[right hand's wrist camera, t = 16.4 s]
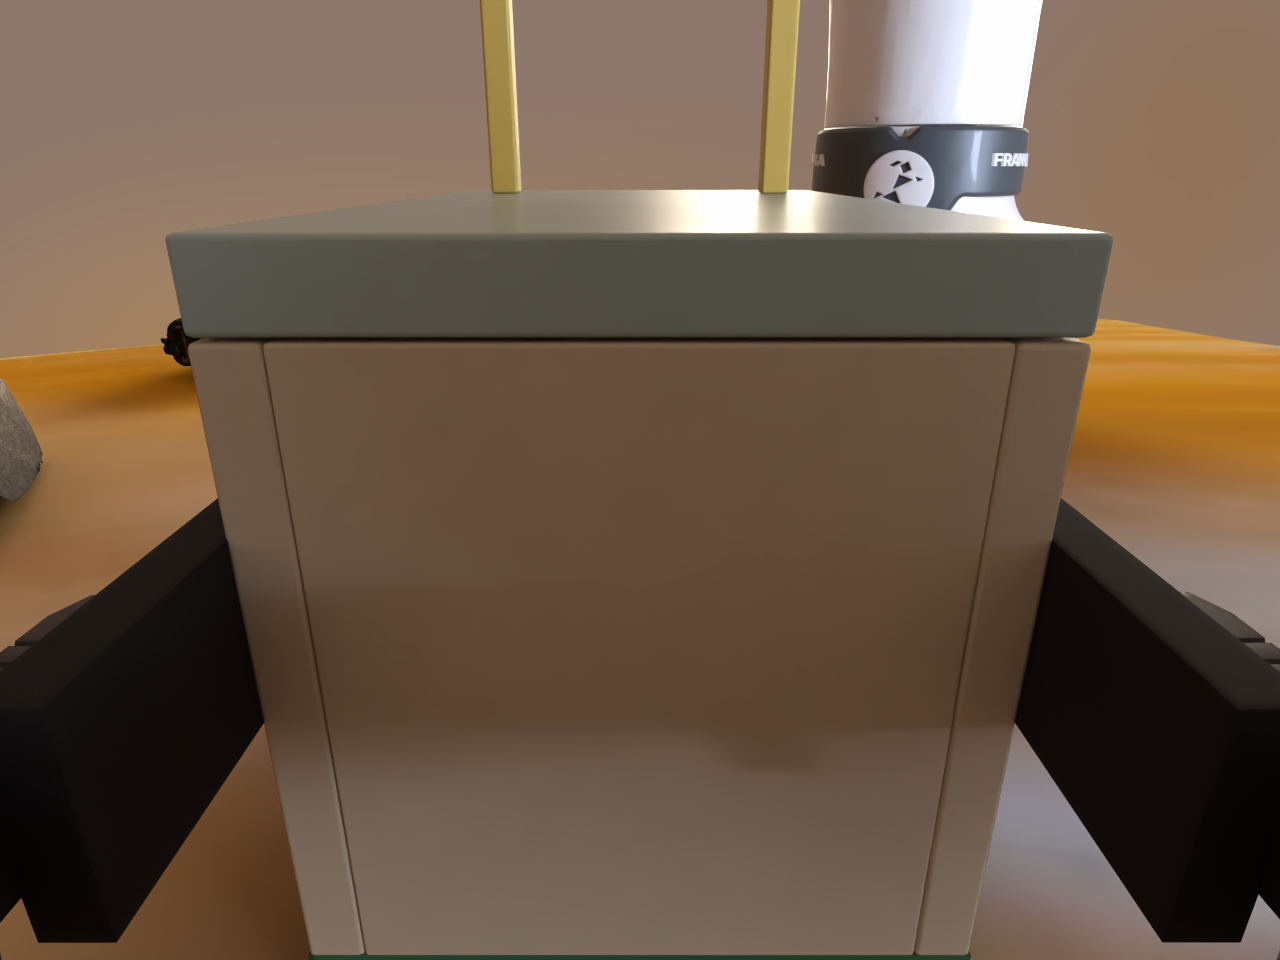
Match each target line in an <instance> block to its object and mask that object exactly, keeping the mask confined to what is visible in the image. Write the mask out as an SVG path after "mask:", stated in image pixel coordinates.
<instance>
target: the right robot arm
mask: <svg viewBox="0 0 1280 960" xmlns="http://www.w3.org/2000/svg"><path fill="white" fill-rule="evenodd" d="M263 723H264V720H263V715H262V710H261V705H260V700H259V695H258V691H257V686H256V681H255V676H254V671H253V666H252V661H251V656H250V651H249V646H248V642H247V637H246V632H245V627H244V622H243V617H242V612H241V607H240V602H239V597H238V593H237V588H236V583H235V578H234V573H233V568H232V563H231V558H230V553H229V548H228V544H227V539H226V534H225V529H224V524H223V520H222V515H221V510H220V505H219V500H218V499H216V500H215V501H214V502H213V503H211V504H210V505H209V506H207V507H206V508H205V509H204V510H202V511H201V512H200V513H199V514H197V515H196V516H195V517H194V518H192V519H191V520H190V521H189V522H187V523H186V524H185V525H184V526H182V527H181V528H180V529H178V530H177V531H176V532H175V533H173V534H172V535H171V536H170V537H168V538H167V539H166V540H165V541H163V542H162V543H161V544H160V545H158V546H157V547H156V548H155V549H153V550H152V551H151V552H149V553H148V554H147V555H146V556H144V557H143V558H142V559H141V560H139V561H138V562H137V563H136V564H134V565H133V566H132V567H131V568H129V569H128V570H127V571H126V572H124V573H123V574H122V575H120V576H119V577H118V578H117V579H115V580H114V581H113V582H112V583H110V584H109V585H108V586H107V587H105V588H104V589H103V590H102V591H100V592H99V593H98V594H97V595H91V596H89V597H87V598H85V599H83V600H81V601H79V602H76V603H74V604H72V605H70V606H68V607H66V608H64V609H62V610H60V611H58V612H56V613H54V614H52V615H49V616H47V617H46V618H45V619H44V620H42V621H41V622H40V623H38V624H37V625H36V626H34V627H33V628H32V629H30V630H29V631H28V632H27V633H25V634H24V635H23V636H21V637H20V638H19V639H17V640H16V641H15V646H8V647H7V648H6V649H4V650H3V651H2V652H0V922H1V921H2V920H3V919H4V918H5V916H6V915H7V914H8V913H9V912H10V910H11V909H12V908H13V907H14V906H15V905H16V903H17V902H18V901H19V900H20V899H21V898H22V900H23V903H24V906H25V908H26V911H27V914H28V916H29V919H30V922H31V925H32V927H33V930H34V933H35V935H36V938H37V941H38V943H116V942H117V941H118V940H119V938H120V937H121V935H122V934H123V932H124V931H125V929H126V928H127V926H128V925H129V923H130V922H131V920H132V919H133V917H134V916H135V914H136V913H137V911H138V910H139V908H140V907H141V905H142V904H143V902H144V901H145V899H146V898H147V896H148V895H149V893H150V892H151V890H152V889H153V887H154V886H155V884H156V883H157V881H158V880H159V878H160V877H161V875H162V874H163V872H164V871H165V869H166V868H167V867H168V865H169V864H170V862H171V861H172V859H173V858H174V856H175V855H176V853H177V852H178V850H179V849H180V847H181V846H182V844H183V843H184V841H185V840H186V838H187V837H188V835H189V834H190V832H191V831H192V829H193V828H194V826H195V825H196V823H197V822H198V820H199V819H200V817H201V816H202V814H203V813H204V811H205V810H206V808H207V807H208V805H209V804H210V802H211V801H212V799H213V798H214V796H215V795H216V794H217V792H218V791H219V789H220V788H221V786H222V785H223V783H224V782H225V780H226V779H227V777H228V776H229V774H230V773H231V771H232V770H233V768H234V767H235V765H236V764H237V762H238V761H239V759H240V758H241V756H242V755H243V753H244V752H245V750H246V749H247V747H248V746H249V744H250V743H251V741H252V740H253V738H254V737H255V735H256V734H257V732H258V731H259V729H260V728H261V726H262V725H263ZM1015 723H1016V725H1017V726H1018V728H1019V729H1020V731H1021V732H1022V734H1023V735H1024V737H1025V738H1026V740H1027V741H1028V743H1029V744H1030V746H1031V747H1032V749H1033V750H1034V752H1035V753H1036V755H1037V756H1038V758H1039V759H1040V761H1041V762H1042V764H1043V765H1044V767H1045V768H1046V770H1047V771H1048V773H1049V774H1050V776H1051V777H1052V779H1053V780H1054V782H1055V783H1056V785H1057V786H1058V788H1059V789H1060V790H1061V792H1062V793H1063V795H1064V796H1065V798H1066V799H1067V801H1068V802H1069V804H1070V805H1071V807H1072V808H1073V810H1074V811H1075V813H1076V814H1077V816H1078V817H1079V819H1080V820H1081V822H1082V823H1083V825H1084V826H1085V828H1086V829H1087V831H1088V832H1089V834H1090V835H1091V837H1092V838H1093V840H1094V841H1095V843H1096V844H1097V846H1098V847H1099V849H1100V850H1101V852H1102V853H1103V855H1104V856H1105V858H1106V859H1107V861H1108V862H1109V864H1110V865H1111V866H1112V868H1113V869H1114V871H1115V872H1116V874H1117V875H1118V877H1119V878H1120V880H1121V881H1122V883H1123V884H1124V886H1125V887H1126V889H1127V890H1128V892H1129V893H1130V895H1131V896H1132V898H1133V899H1134V901H1135V902H1136V904H1137V905H1138V907H1139V908H1140V910H1141V911H1142V913H1143V914H1144V916H1145V917H1146V919H1147V920H1148V922H1149V923H1150V925H1151V926H1152V928H1153V929H1154V931H1155V932H1156V934H1157V935H1158V937H1159V938H1160V940H1161V941H1162V942H1241V940H1242V937H1243V934H1244V932H1245V929H1246V926H1247V924H1248V921H1249V918H1250V916H1251V913H1252V910H1253V908H1254V905H1255V902H1256V900H1257V897H1258V894H1259V895H1260V896H1261V898H1262V899H1263V900H1264V901H1265V902H1266V903H1267V905H1268V906H1269V907H1270V908H1271V909H1272V911H1273V912H1274V913H1275V914H1276V915H1277V916H1278V918H1279V919H1280V649H1279V648H1277V647H1276V646H1275V645H1273V644H1272V643H1265V638H1264V637H1263V636H1261V635H1260V634H1259V633H1257V632H1256V631H1255V630H1253V629H1252V628H1251V627H1250V626H1248V625H1247V624H1246V623H1244V622H1243V621H1242V620H1240V619H1239V618H1238V617H1236V616H1235V615H1234V614H1232V613H1230V612H1228V611H1226V610H1224V609H1222V608H1220V607H1218V606H1216V605H1214V604H1212V603H1210V602H1207V601H1205V600H1203V599H1201V598H1199V597H1197V596H1195V595H1193V594H1191V593H1189V592H1179V591H1177V590H1176V589H1175V588H1174V587H1172V586H1171V585H1170V584H1169V583H1167V582H1166V581H1165V580H1163V579H1162V578H1161V577H1160V576H1158V575H1157V574H1156V573H1155V572H1153V571H1152V570H1151V569H1150V568H1148V567H1147V566H1146V565H1145V564H1143V563H1142V562H1141V561H1140V560H1138V559H1137V558H1136V557H1135V556H1133V555H1132V554H1131V553H1129V552H1128V551H1127V550H1126V549H1124V548H1123V547H1122V546H1121V545H1119V544H1118V543H1117V542H1116V541H1114V540H1113V539H1112V538H1111V537H1109V536H1108V535H1107V534H1106V533H1104V532H1103V531H1102V530H1100V529H1099V528H1098V527H1097V526H1095V525H1094V524H1093V523H1092V522H1090V521H1089V520H1088V519H1087V518H1085V517H1084V516H1083V515H1082V514H1080V513H1079V512H1078V511H1077V510H1075V509H1074V508H1073V507H1071V506H1070V505H1069V504H1068V503H1066V502H1065V501H1064V500H1063V499H1061V498H1060V503H1059V508H1058V513H1057V518H1056V523H1055V528H1054V533H1053V538H1052V542H1051V547H1050V552H1049V557H1048V562H1047V567H1046V572H1045V577H1044V582H1043V587H1042V592H1041V597H1040V601H1039V606H1038V611H1037V616H1036V621H1035V626H1034V631H1033V636H1032V641H1031V646H1030V651H1029V656H1028V660H1027V665H1026V670H1025V675H1024V680H1023V685H1022V690H1021V695H1020V700H1019V705H1018V710H1017V715H1016V719H1015ZM0 960H1V954H0ZM1276 960H1280V952H1279V954H1278V957H1277V959H1276Z"/></svg>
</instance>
